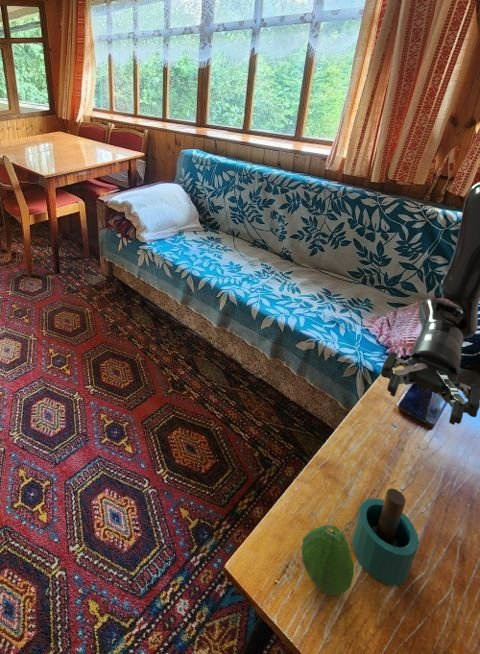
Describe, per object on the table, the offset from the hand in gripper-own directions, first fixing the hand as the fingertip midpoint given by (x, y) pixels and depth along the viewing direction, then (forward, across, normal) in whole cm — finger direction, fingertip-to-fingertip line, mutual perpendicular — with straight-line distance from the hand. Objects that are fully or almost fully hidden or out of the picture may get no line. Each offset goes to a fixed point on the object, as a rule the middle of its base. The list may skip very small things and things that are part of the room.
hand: (421, 406), depth 66 cm
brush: (+11, 0, +27) cm, 29 cm away
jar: (+11, 0, +28) cm, 30 cm away
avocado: (+21, -6, +28) cm, 36 cm away
